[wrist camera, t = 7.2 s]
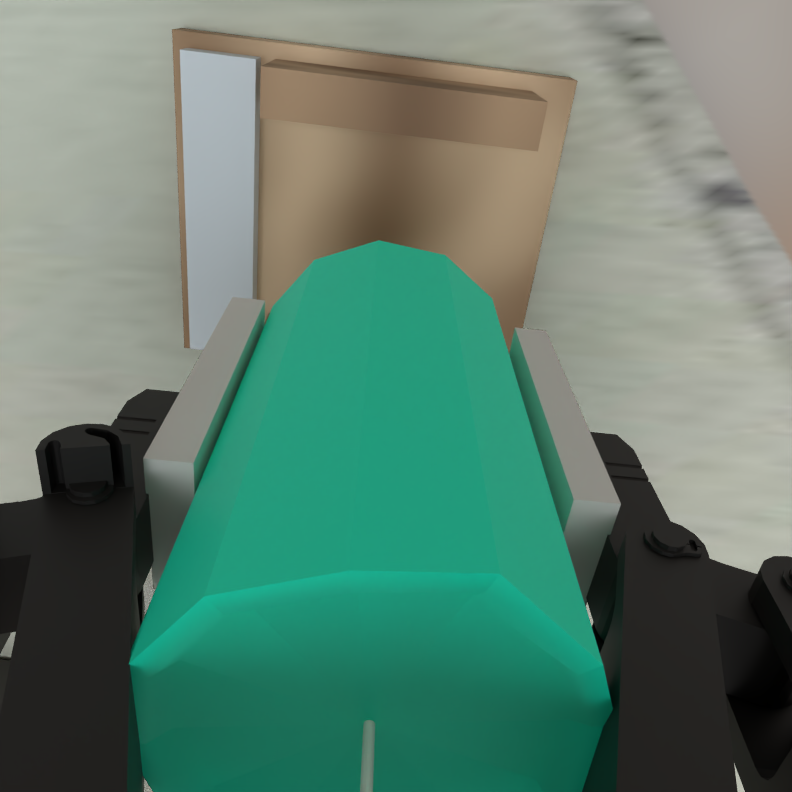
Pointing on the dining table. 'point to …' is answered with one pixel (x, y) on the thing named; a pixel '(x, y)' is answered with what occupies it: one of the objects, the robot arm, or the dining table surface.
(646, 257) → the dining table surface
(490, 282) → the jig
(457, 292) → the candle
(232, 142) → the wing slat
